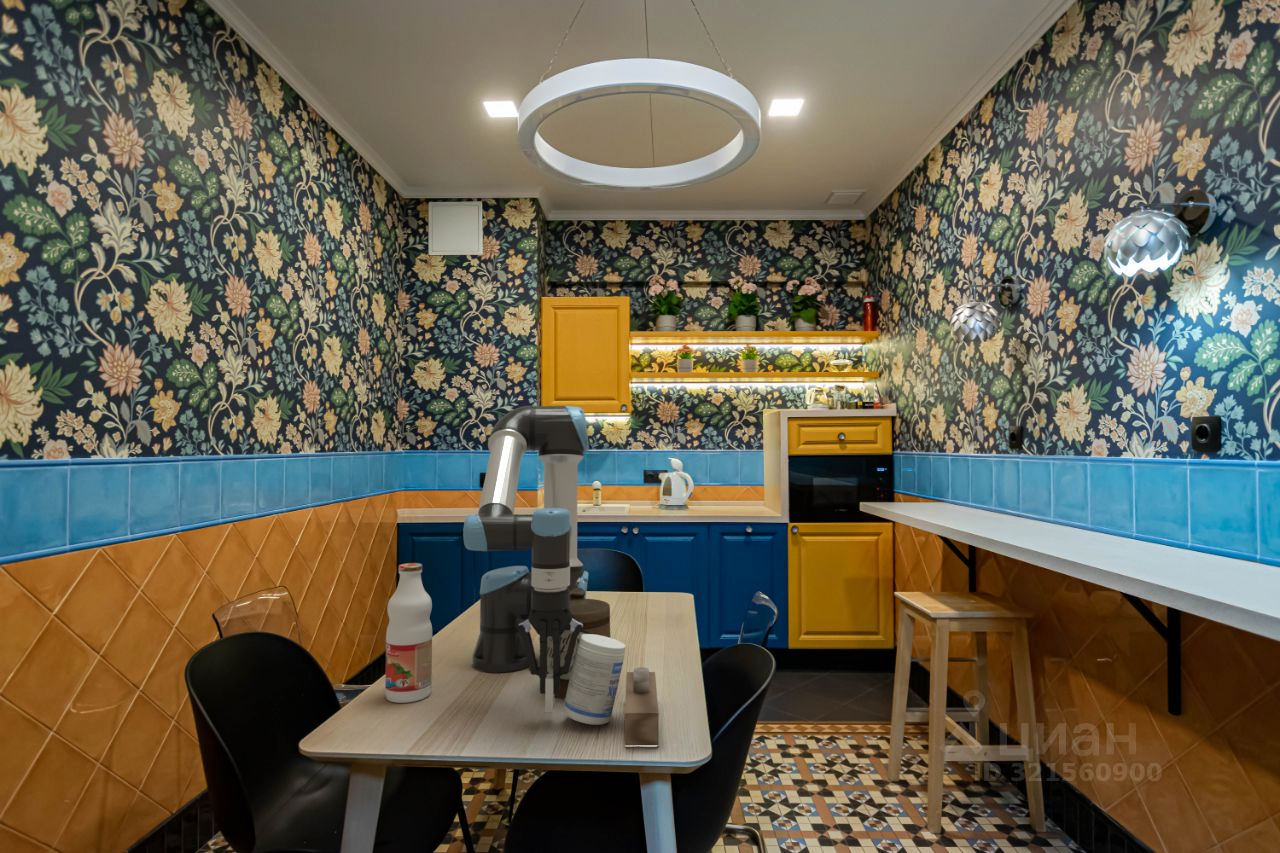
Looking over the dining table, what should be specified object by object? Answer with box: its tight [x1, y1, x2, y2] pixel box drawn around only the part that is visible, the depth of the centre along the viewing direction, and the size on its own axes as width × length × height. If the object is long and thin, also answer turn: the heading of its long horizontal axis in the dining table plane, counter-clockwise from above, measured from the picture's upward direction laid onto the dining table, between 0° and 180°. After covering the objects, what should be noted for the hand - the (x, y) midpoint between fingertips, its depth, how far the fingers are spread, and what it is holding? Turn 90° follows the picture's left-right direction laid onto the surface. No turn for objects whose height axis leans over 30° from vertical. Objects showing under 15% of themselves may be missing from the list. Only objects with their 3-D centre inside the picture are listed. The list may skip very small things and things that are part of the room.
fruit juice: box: [384, 562, 433, 704], centre depth 142 cm, size 9×9×28 cm
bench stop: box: [624, 666, 660, 746], centre depth 127 cm, size 6×22×10 cm, turn 0°
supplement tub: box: [563, 634, 626, 726], centre depth 128 cm, size 10×10×15 cm
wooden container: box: [547, 588, 611, 699], centre depth 147 cm, size 15×15×22 cm
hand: (549, 709), depth 128 cm, fingers closed
